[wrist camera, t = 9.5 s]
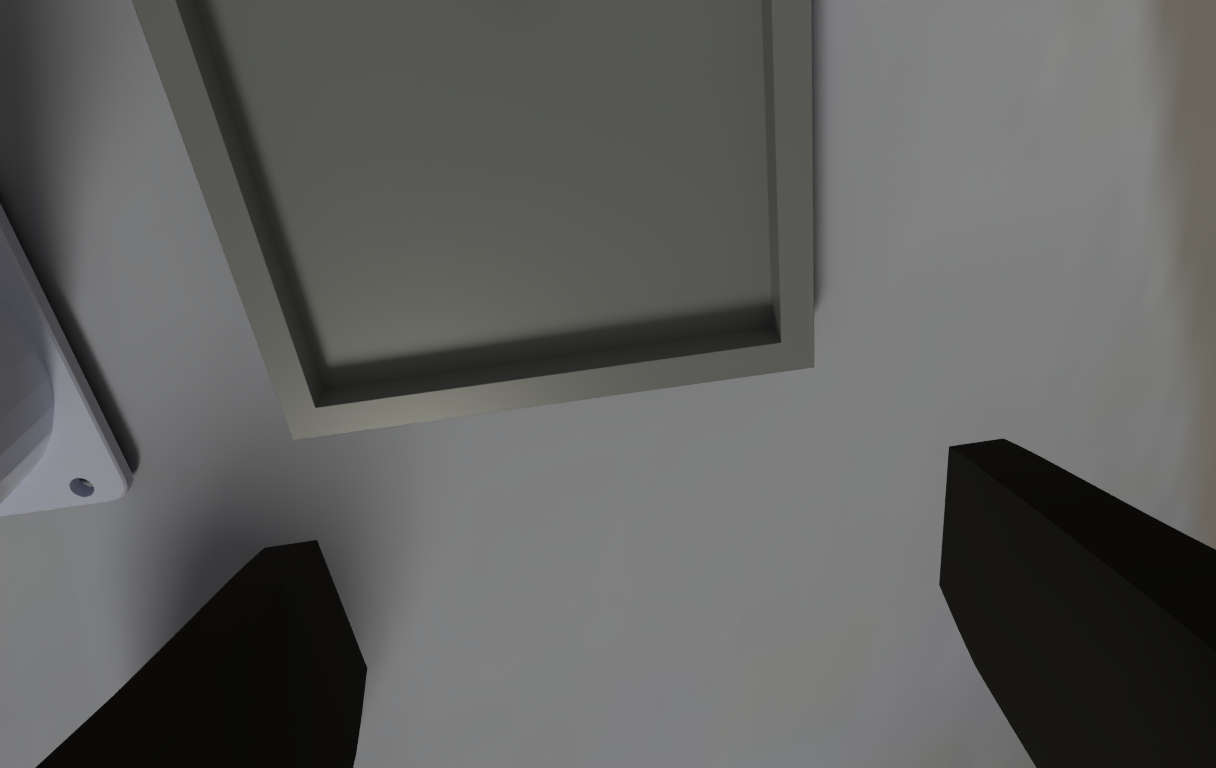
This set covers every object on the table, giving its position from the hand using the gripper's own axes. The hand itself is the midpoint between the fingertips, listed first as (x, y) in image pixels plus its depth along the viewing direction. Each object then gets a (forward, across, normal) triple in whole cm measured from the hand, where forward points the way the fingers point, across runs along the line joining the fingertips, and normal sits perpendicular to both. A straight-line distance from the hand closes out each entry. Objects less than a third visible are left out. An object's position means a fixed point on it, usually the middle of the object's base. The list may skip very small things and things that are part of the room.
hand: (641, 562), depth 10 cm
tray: (+9, +1, -3) cm, 10 cm away
